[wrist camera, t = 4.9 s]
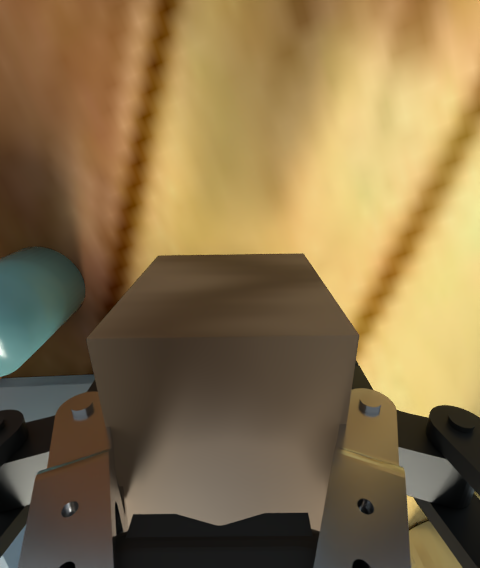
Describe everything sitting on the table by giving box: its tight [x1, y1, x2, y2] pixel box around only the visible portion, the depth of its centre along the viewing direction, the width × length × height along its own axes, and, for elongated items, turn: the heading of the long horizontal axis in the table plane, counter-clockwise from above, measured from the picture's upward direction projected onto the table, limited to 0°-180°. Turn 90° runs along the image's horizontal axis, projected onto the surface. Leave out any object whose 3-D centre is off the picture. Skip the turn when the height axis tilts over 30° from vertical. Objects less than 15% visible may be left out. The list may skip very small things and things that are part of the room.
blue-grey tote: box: [0, 374, 95, 568], centre depth 22 cm, size 16×14×6 cm
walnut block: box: [86, 254, 359, 531], centre depth 10 cm, size 6×7×6 cm
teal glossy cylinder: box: [0, 247, 85, 377], centre depth 17 cm, size 5×5×6 cm
